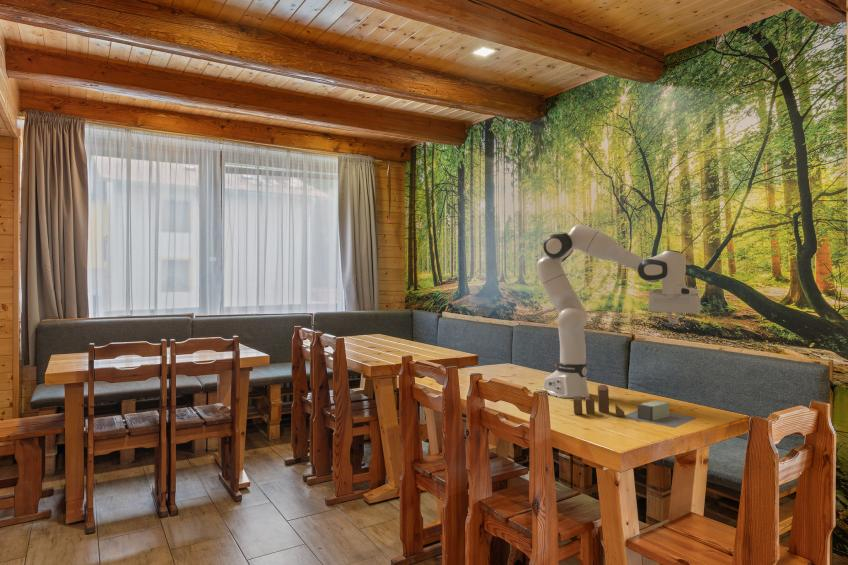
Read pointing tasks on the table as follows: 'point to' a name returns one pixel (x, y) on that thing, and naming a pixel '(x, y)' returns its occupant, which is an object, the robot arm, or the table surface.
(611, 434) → the table surface
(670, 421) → the slate mat
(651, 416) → the sage block
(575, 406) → the wooden block set
